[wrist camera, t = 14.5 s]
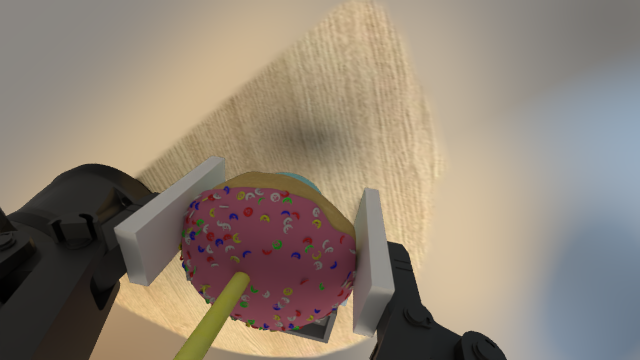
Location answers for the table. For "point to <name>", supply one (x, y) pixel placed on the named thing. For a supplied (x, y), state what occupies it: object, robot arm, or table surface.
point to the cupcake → (265, 255)
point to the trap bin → (316, 329)
